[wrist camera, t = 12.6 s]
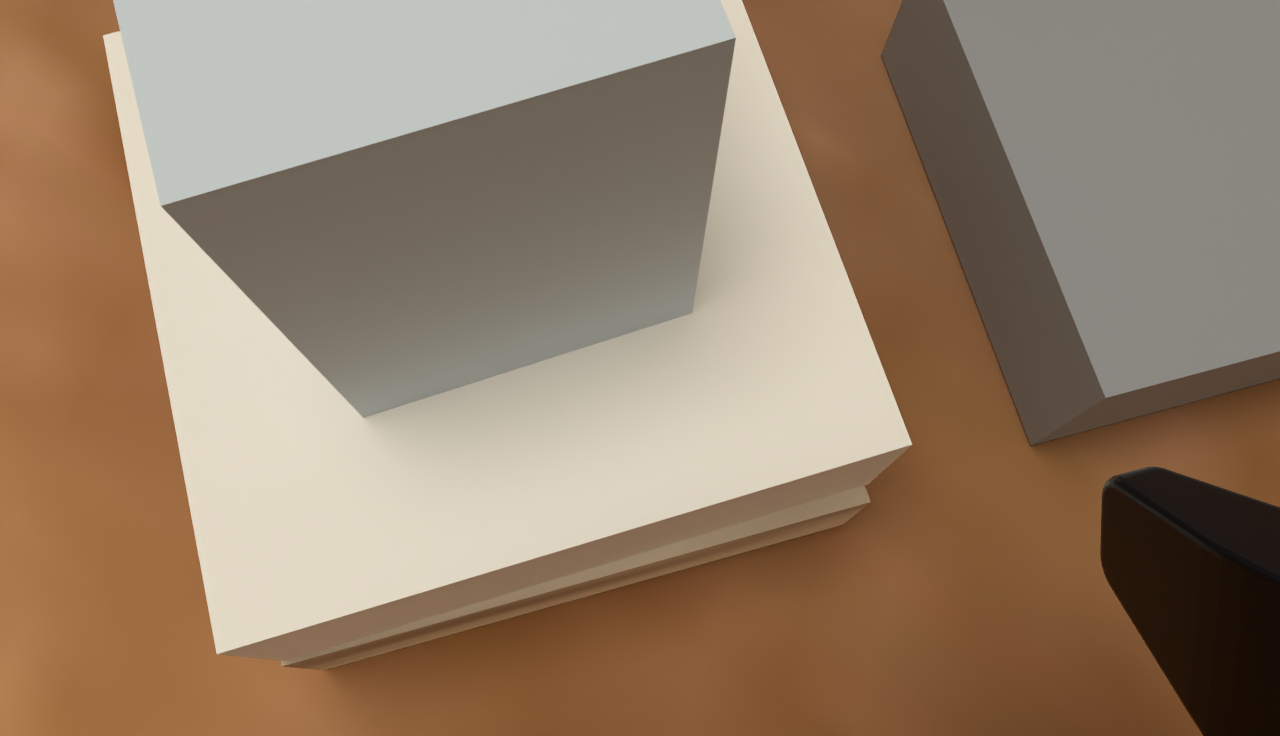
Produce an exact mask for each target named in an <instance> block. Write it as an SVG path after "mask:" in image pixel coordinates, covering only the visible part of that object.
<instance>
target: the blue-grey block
mask: <svg viewBox="0 0 1280 736" xmlns="http://www.w3.org/2000/svg"><path fill="white" fill-rule="evenodd" d="M113 2H114V6H115V11H116V15H117V19H118V23H119V28H120V32H121V36H122V41H123V45H124V49H125V54H126V58H127V62H128V67H129V71H130V75H131V80H132V84H133V88H134V93H135V97H136V101H137V106H138V110H139V114H140V119H141V123H142V127H143V132H144V136H145V140H146V145H147V149H148V153H149V158H150V162H151V166H152V171H153V175H154V179H155V184H156V188H157V192H158V197H159V201H160V205H161V207H162V208H163V209H164V210H165V211H166V212H167V213H168V214H169V215H170V216H171V217H172V218H173V219H174V220H175V221H176V222H177V223H178V225H179V226H180V227H181V228H182V229H183V230H184V231H185V232H186V233H187V234H188V235H189V236H190V237H191V238H192V239H193V240H194V241H195V242H196V243H197V244H198V245H199V246H200V248H201V249H202V250H203V251H204V252H205V253H206V254H207V255H208V256H209V257H210V258H211V259H212V260H213V261H214V262H215V263H216V264H217V265H218V266H219V267H220V268H221V269H222V271H223V272H224V273H225V274H226V275H227V276H228V277H229V278H230V279H231V280H232V281H233V282H234V283H235V284H236V285H237V286H238V287H239V288H240V289H241V290H242V291H243V292H244V294H245V295H246V296H247V297H248V298H249V299H250V300H251V301H252V302H253V303H254V304H255V305H256V306H257V307H258V308H259V309H260V310H261V311H262V312H263V313H264V314H265V315H266V317H267V318H268V319H269V320H270V321H271V322H272V323H273V324H274V325H275V326H276V327H277V328H278V329H279V330H280V331H281V332H282V333H283V334H284V335H285V336H286V337H287V338H288V340H289V341H290V342H291V343H292V344H293V345H294V346H295V347H296V348H297V349H298V350H299V351H300V352H301V353H302V354H303V355H304V356H305V357H306V358H307V359H308V360H309V362H310V363H311V364H312V365H313V366H314V367H315V368H316V369H317V370H318V371H319V372H320V373H321V374H322V375H323V376H324V377H325V378H326V379H327V380H328V381H329V382H330V383H331V385H332V386H333V387H334V388H335V389H336V390H337V391H338V392H339V393H340V394H341V395H342V396H343V397H344V398H345V399H346V400H347V401H348V402H349V403H350V404H351V405H352V406H353V408H354V409H355V410H356V411H357V412H358V413H359V414H360V415H361V416H362V417H363V418H364V417H367V416H371V415H374V414H377V413H380V412H383V411H386V410H389V409H393V408H396V407H399V406H402V405H405V404H408V403H411V402H415V401H418V400H421V399H424V398H427V397H430V396H433V395H437V394H440V393H443V392H446V391H449V390H452V389H455V388H458V387H462V386H465V385H468V384H471V383H474V382H477V381H480V380H484V379H487V378H490V377H493V376H496V375H499V374H502V373H506V372H509V371H512V370H515V369H518V368H521V367H524V366H528V365H531V364H534V363H537V362H540V361H543V360H546V359H550V358H553V357H556V356H559V355H562V354H565V353H568V352H572V351H575V350H578V349H581V348H584V347H587V346H590V345H594V344H597V343H600V342H603V341H606V340H609V339H612V338H616V337H619V336H622V335H625V334H628V333H631V332H634V331H637V330H641V329H644V328H647V327H650V326H653V325H656V324H659V323H663V322H666V321H669V320H672V319H675V318H678V317H681V316H685V315H688V314H691V313H692V311H693V305H694V299H695V292H696V286H697V280H698V274H699V267H700V261H701V255H702V248H703V242H704V236H705V229H706V223H707V217H708V211H709V204H710V198H711V192H712V185H713V179H714V173H715V166H716V160H717V154H718V148H719V141H720V135H721V129H722V122H723V116H724V110H725V104H726V97H727V91H728V85H729V78H730V72H731V66H732V59H733V53H734V47H735V41H736V37H735V34H734V32H733V29H732V27H731V25H730V22H729V20H728V18H727V15H726V13H725V10H724V8H723V6H722V3H721V1H720V0H113Z"/></svg>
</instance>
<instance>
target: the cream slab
mask: <svg viewBox="0 0 1280 736" xmlns="http://www.w3.org/2000/svg"><path fill="white" fill-rule="evenodd" d="M720 1H721V3H722V6H723V8H724V10H725V13H726V15H727V18H728V20H729V22H730V25H731V27H732V29H733V32H734V34H735V37H736V41H735V47H734V53H733V59H732V66H731V72H730V78H729V85H728V91H727V97H726V104H725V110H724V116H723V122H722V129H721V135H720V141H719V148H718V154H717V160H716V166H715V173H714V179H713V185H712V192H711V198H710V204H709V211H708V217H707V223H706V229H705V236H704V242H703V248H702V255H701V261H700V267H699V274H698V280H697V286H696V292H695V299H694V305H693V311H692V313H691V314H688V315H685V316H681V317H678V318H675V319H672V320H669V321H666V322H663V323H659V324H656V325H653V326H650V327H647V328H644V329H641V330H637V331H634V332H631V333H628V334H625V335H622V336H619V337H616V338H612V339H609V340H606V341H603V342H600V343H597V344H594V345H590V346H587V347H584V348H581V349H578V350H575V351H572V352H568V353H565V354H562V355H559V356H556V357H553V358H550V359H546V360H543V361H540V362H537V363H534V364H531V365H528V366H524V367H521V368H518V369H515V370H512V371H509V372H506V373H502V374H499V375H496V376H493V377H490V378H487V379H484V380H480V381H477V382H474V383H471V384H468V385H465V386H462V387H458V388H455V389H452V390H449V391H446V392H443V393H440V394H437V395H433V396H430V397H427V398H424V399H421V400H418V401H415V402H411V403H408V404H405V405H402V406H399V407H396V408H393V409H389V410H386V411H383V412H380V413H377V414H374V415H371V416H367V417H364V418H363V417H362V416H361V415H360V414H359V413H358V412H357V411H356V410H355V409H354V408H353V406H352V405H351V404H350V403H349V402H348V401H347V400H346V399H345V398H344V397H343V396H342V395H341V394H340V393H339V392H338V391H337V390H336V389H335V388H334V387H333V386H332V385H331V383H330V382H329V381H328V380H327V379H326V378H325V377H324V376H323V375H322V374H321V373H320V372H319V371H318V370H317V369H316V368H315V367H314V366H313V365H312V364H311V363H310V362H309V360H308V359H307V358H306V357H305V356H304V355H303V354H302V353H301V352H300V351H299V350H298V349H297V348H296V347H295V346H294V345H293V344H292V343H291V342H290V341H289V340H288V338H287V337H286V336H285V335H284V334H283V333H282V332H281V331H280V330H279V329H278V328H277V327H276V326H275V325H274V324H273V323H272V322H271V321H270V320H269V319H268V318H267V317H266V315H265V314H264V313H263V312H262V311H261V310H260V309H259V308H258V307H257V306H256V305H255V304H254V303H253V302H252V301H251V300H250V299H249V298H248V297H247V296H246V295H245V294H244V292H243V291H242V290H241V289H240V288H239V287H238V286H237V285H236V284H235V283H234V282H233V281H232V280H231V279H230V278H229V277H228V276H227V275H226V274H225V273H224V272H223V271H222V269H221V268H220V267H219V266H218V265H217V264H216V263H215V262H214V261H213V260H212V259H211V258H210V257H209V256H208V255H207V254H206V253H205V252H204V251H203V250H202V249H201V248H200V246H199V245H198V244H197V243H196V242H195V241H194V240H193V239H192V238H191V237H190V236H189V235H188V234H187V233H186V232H185V231H184V230H183V229H182V228H181V227H180V226H179V225H178V223H177V222H176V221H175V220H174V219H173V218H172V217H171V216H170V215H169V214H168V213H167V212H166V211H165V210H164V209H163V208H162V207H161V205H160V201H159V197H158V192H157V188H156V184H155V179H154V175H153V171H152V166H151V162H150V158H149V153H148V149H147V145H146V140H145V136H144V132H143V127H142V123H141V119H140V114H139V110H138V106H137V101H136V97H135V93H134V88H133V84H132V80H131V75H130V71H129V67H128V62H127V58H126V54H125V49H124V45H123V41H122V36H121V32H120V31H119V32H115V33H111V34H107V35H103V37H104V43H105V48H106V54H107V59H108V65H109V70H110V76H111V81H112V86H113V92H114V97H115V103H116V108H117V114H118V119H119V125H120V130H121V135H122V141H123V146H124V152H125V157H126V163H127V168H128V174H129V179H130V184H131V190H132V195H133V201H134V206H135V212H136V217H137V223H138V228H139V233H140V239H141V244H142V250H143V255H144V261H145V266H146V272H147V277H148V282H149V288H150V293H151V299H152V304H153V310H154V315H155V321H156V326H157V331H158V337H159V342H160V348H161V353H162V359H163V364H164V370H165V375H166V380H167V386H168V391H169V397H170V402H171V408H172V413H173V418H174V424H175V429H176V435H177V440H178V446H179V451H180V457H181V462H182V467H183V473H184V478H185V484H186V489H187V495H188V500H189V506H190V511H191V516H192V522H193V527H194V533H195V538H196V544H197V549H198V555H199V560H200V565H201V571H202V576H203V582H204V587H205V593H206V598H207V604H208V609H209V614H210V620H211V625H212V631H213V636H214V642H215V647H216V653H217V654H220V655H229V656H239V657H248V658H258V659H267V660H277V661H288V660H291V659H295V658H298V657H301V656H305V655H308V654H311V653H314V652H318V651H321V650H324V649H328V648H331V647H334V646H337V645H341V644H344V643H347V642H351V641H354V640H357V639H361V638H364V637H367V636H370V635H374V634H377V633H380V632H384V631H387V630H390V629H393V628H397V627H400V626H403V625H407V624H410V623H413V622H417V621H420V620H423V619H426V618H430V617H433V616H436V615H440V614H443V613H446V612H449V611H453V610H456V609H459V608H463V607H466V606H469V605H472V604H476V603H479V602H482V601H486V600H489V599H492V598H496V597H499V596H502V595H505V594H509V593H512V592H515V591H519V590H522V589H525V588H528V587H532V586H535V585H538V584H542V583H545V582H548V581H552V580H555V579H558V578H561V577H565V576H568V575H571V574H575V573H578V572H581V571H584V570H588V569H591V568H594V567H598V566H601V565H604V564H607V563H611V562H614V561H617V560H621V559H624V558H627V557H631V556H634V555H637V554H640V553H644V552H647V551H650V550H654V549H657V548H660V547H663V546H667V545H670V544H673V543H677V542H680V541H683V540H687V539H690V538H693V537H696V536H700V535H703V534H706V533H710V532H713V531H716V530H719V529H723V528H726V527H729V526H733V525H736V524H739V523H742V522H746V521H749V520H752V519H756V518H759V517H762V516H766V515H769V514H772V513H775V512H779V511H782V510H785V509H789V508H792V507H795V506H798V505H802V504H805V503H808V502H812V501H815V500H818V499H821V498H825V497H828V496H831V495H835V494H838V493H841V492H845V491H848V490H851V489H854V488H858V487H861V486H864V485H868V484H869V483H870V482H871V481H873V480H874V479H875V478H876V477H877V476H878V475H879V474H880V473H881V472H883V471H884V470H885V469H886V468H887V467H888V466H889V465H890V464H891V463H892V462H894V461H895V460H896V459H897V458H898V457H899V456H900V455H901V454H902V453H904V452H905V451H906V450H907V449H908V448H909V447H910V446H911V445H912V443H911V440H910V438H909V435H908V432H907V430H906V427H905V425H904V422H903V419H902V417H901V414H900V412H899V409H898V406H897V404H896V401H895V398H894V396H893V393H892V391H891V388H890V385H889V383H888V380H887V378H886V375H885V372H884V370H883V367H882V365H881V362H880V359H879V357H878V354H877V352H876V349H875V346H874V344H873V341H872V339H871V336H870V333H869V331H868V328H867V325H866V323H865V320H864V318H863V315H862V312H861V310H860V307H859V305H858V302H857V299H856V297H855V294H854V292H853V289H852V286H851V284H850V281H849V279H848V276H847V273H846V271H845V268H844V266H843V263H842V260H841V258H840V255H839V252H838V250H837V247H836V245H835V242H834V239H833V237H832V234H831V232H830V229H829V226H828V224H827V221H826V219H825V216H824V213H823V211H822V208H821V206H820V203H819V200H818V198H817V195H816V193H815V190H814V187H813V185H812V182H811V179H810V177H809V174H808V172H807V169H806V166H805V164H804V161H803V159H802V156H801V153H800V151H799V148H798V146H797V143H796V140H795V138H794V135H793V133H792V130H791V127H790V125H789V122H788V120H787V117H786V114H785V112H784V109H783V106H782V104H781V101H780V99H779V96H778V93H777V91H776V88H775V86H774V83H773V80H772V78H771V75H770V73H769V70H768V67H767V65H766V62H765V60H764V57H763V54H762V52H761V49H760V47H759V44H758V41H757V39H756V36H755V33H754V31H753V28H752V26H751V23H750V20H749V18H748V15H747V13H746V10H745V7H744V5H743V2H742V0H720Z"/></svg>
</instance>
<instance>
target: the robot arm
mask: <svg viewBox="0 0 1280 736" xmlns="http://www.w3.org/2000/svg"><path fill="white" fill-rule="evenodd" d="M1100 554H1101V563H1102V567H1103V571H1104V574H1105V576H1106V578H1107V581H1108V583H1109V585H1110V586H1111V588H1112V590H1113V591H1114V593H1115V595H1116V596H1117V598H1118V599H1119V601H1120V603H1121V604H1122V606H1123V608H1124V609H1125V611H1126V612H1127V614H1128V616H1129V617H1130V619H1131V621H1132V622H1133V624H1134V625H1135V627H1136V629H1137V630H1138V632H1139V634H1140V635H1141V637H1142V638H1143V640H1144V642H1145V643H1146V645H1147V646H1148V648H1149V650H1150V651H1151V653H1152V655H1153V656H1154V658H1155V659H1156V661H1157V663H1158V664H1159V666H1160V668H1161V669H1162V671H1163V672H1164V674H1165V676H1166V677H1167V679H1168V681H1169V682H1170V684H1171V685H1172V687H1173V689H1174V690H1175V692H1176V694H1177V695H1178V697H1179V698H1180V700H1181V702H1182V703H1183V705H1184V706H1185V708H1186V710H1187V711H1188V713H1189V714H1190V716H1191V718H1192V719H1193V721H1194V722H1195V724H1196V725H1197V727H1198V728H1199V730H1200V731H1201V733H1202V734H1203V736H1280V507H1277V506H1274V505H1271V504H1268V503H1265V502H1262V501H1259V500H1256V499H1253V498H1250V497H1247V496H1244V495H1241V494H1238V493H1235V492H1232V491H1229V490H1226V489H1223V488H1220V487H1217V486H1214V485H1211V484H1208V483H1205V482H1202V481H1199V480H1197V479H1194V478H1191V477H1188V476H1185V475H1182V474H1179V473H1176V472H1173V471H1170V470H1167V469H1163V468H1160V467H1146V468H1142V469H1138V470H1135V471H1131V472H1127V473H1124V474H1120V475H1116V476H1113V477H1111V478H1110V479H1109V480H1107V482H1106V483H1105V485H1104V488H1103V492H1102V513H1101V550H1100Z"/></svg>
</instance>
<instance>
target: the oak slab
mask: <svg viewBox="0 0 1280 736" xmlns="http://www.w3.org/2000/svg"><path fill="white" fill-rule="evenodd" d="M870 502H871V501H870V499H869V496H868V493H867V490H866V487H865V485H864V486H861V487H858V488H854V489H851V490H848V491H845V492H841V493H838V494H835V495H831V496H828V497H825V498H821V499H818V500H815V501H812V502H808V503H805V504H802V505H798V506H795V507H792V508H789V509H785V510H782V511H779V512H775V513H772V514H769V515H766V516H762V517H759V518H756V519H752V520H749V521H746V522H742V523H739V524H736V525H733V526H729V527H726V528H723V529H719V530H716V531H713V532H710V533H706V534H703V535H700V536H696V537H693V538H690V539H687V540H683V541H680V542H677V543H673V544H670V545H667V546H663V547H660V548H657V549H654V550H650V551H647V552H644V553H640V554H637V555H634V556H631V557H627V558H624V559H621V560H617V561H614V562H611V563H607V564H604V565H601V566H598V567H594V568H591V569H588V570H584V571H581V572H578V573H575V574H571V575H568V576H565V577H561V578H558V579H555V580H552V581H548V582H545V583H542V584H538V585H535V586H532V587H528V588H525V589H522V590H519V591H515V592H512V593H509V594H505V595H502V596H499V597H496V598H492V599H489V600H486V601H482V602H479V603H476V604H472V605H469V606H466V607H463V608H459V609H456V610H453V611H449V612H446V613H443V614H440V615H436V616H433V617H430V618H426V619H423V620H420V621H417V622H413V623H410V624H407V625H403V626H400V627H397V628H393V629H390V630H387V631H384V632H380V633H377V634H374V635H370V636H367V637H364V638H361V639H357V640H354V641H351V642H347V643H344V644H341V645H337V646H334V647H331V648H328V649H324V650H321V651H318V652H314V653H311V654H308V655H305V656H301V657H298V658H295V659H291V660H288V661H281V664H282V666H284V667H295V668H307V669H318V670H326V669H330V668H334V667H337V666H341V665H344V664H348V663H351V662H355V661H359V660H362V659H366V658H369V657H373V656H376V655H380V654H384V653H387V652H391V651H394V650H398V649H401V648H405V647H409V646H412V645H416V644H419V643H423V642H426V641H430V640H433V639H437V638H441V637H444V636H448V635H451V634H455V633H458V632H462V631H466V630H469V629H473V628H476V627H480V626H483V625H487V624H491V623H494V622H498V621H501V620H505V619H508V618H512V617H516V616H519V615H523V614H526V613H530V612H533V611H537V610H540V609H544V608H548V607H551V606H555V605H558V604H562V603H565V602H569V601H573V600H576V599H580V598H583V597H587V596H590V595H594V594H598V593H601V592H605V591H608V590H612V589H615V588H619V587H623V586H626V585H630V584H633V583H637V582H640V581H644V580H648V579H651V578H655V577H658V576H662V575H665V574H669V573H672V572H676V571H680V570H683V569H687V568H690V567H694V566H697V565H701V564H705V563H708V562H712V561H715V560H719V559H722V558H726V557H730V556H733V555H737V554H740V553H744V552H747V551H751V550H755V549H758V548H762V547H765V546H769V545H772V544H776V543H779V542H783V541H787V540H790V539H794V538H797V537H801V536H804V535H808V534H812V533H815V532H819V531H822V530H826V529H829V528H833V527H837V526H840V525H843V524H844V523H846V522H847V521H848V520H849V519H851V518H852V517H853V516H854V515H855V514H857V513H858V512H859V511H860V510H862V509H863V508H864V507H865V506H866V505H868V504H869V503H870Z"/></svg>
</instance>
